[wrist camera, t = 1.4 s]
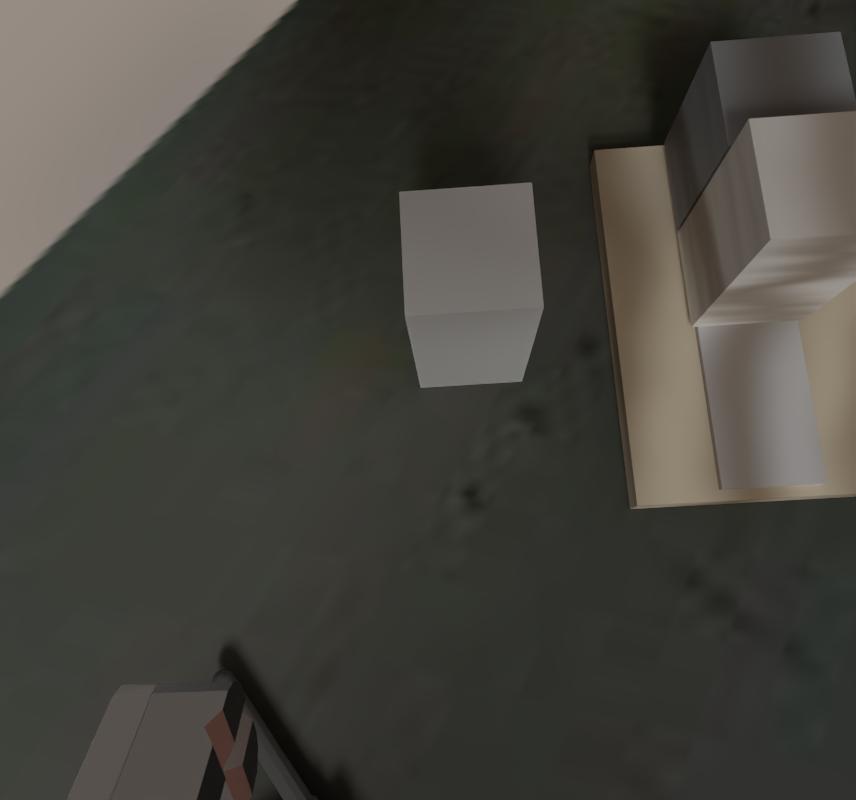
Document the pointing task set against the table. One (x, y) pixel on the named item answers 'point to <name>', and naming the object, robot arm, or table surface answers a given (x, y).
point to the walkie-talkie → (271, 752)
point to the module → (471, 282)
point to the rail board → (672, 349)
